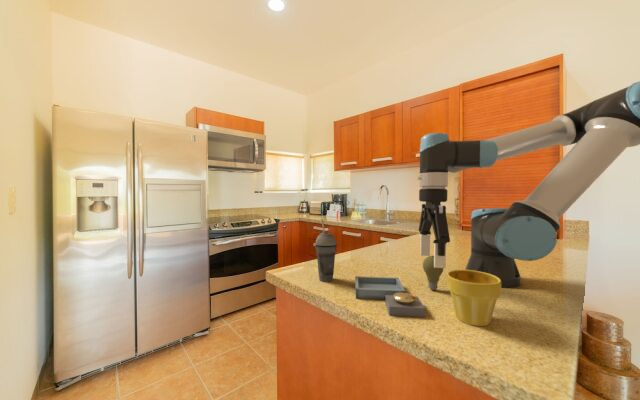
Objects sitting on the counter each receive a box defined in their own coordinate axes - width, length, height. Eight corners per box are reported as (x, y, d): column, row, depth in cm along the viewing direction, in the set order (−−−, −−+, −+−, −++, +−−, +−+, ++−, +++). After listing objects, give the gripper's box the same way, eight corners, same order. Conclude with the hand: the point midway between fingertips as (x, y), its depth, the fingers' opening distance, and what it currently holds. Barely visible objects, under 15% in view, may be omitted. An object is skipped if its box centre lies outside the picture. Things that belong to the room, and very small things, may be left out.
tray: (398, 285, 78) (398, 277, 78) (405, 300, 67) (405, 291, 67) (355, 284, 80) (355, 276, 80) (355, 298, 69) (355, 289, 69)
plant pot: (479, 336, 50) (479, 286, 50) (436, 314, 60) (436, 272, 60) (512, 325, 54) (512, 279, 54) (466, 306, 64) (467, 267, 64)
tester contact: (412, 295, 64) (412, 292, 64) (417, 303, 59) (417, 301, 59) (391, 294, 65) (391, 292, 65) (395, 302, 60) (395, 300, 60)
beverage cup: (335, 283, 80) (335, 220, 80) (312, 282, 82) (312, 220, 81) (338, 276, 87) (338, 218, 87) (317, 275, 89) (317, 218, 88)
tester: (417, 304, 65) (417, 293, 65) (425, 317, 58) (425, 305, 58) (385, 302, 66) (385, 292, 66) (389, 315, 59) (389, 303, 59)
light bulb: (447, 293, 72) (447, 258, 72) (427, 293, 72) (427, 258, 72) (438, 286, 77) (438, 253, 77) (419, 286, 78) (419, 253, 77)
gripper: (409, 189, 87) (408, 251, 87) (433, 186, 62) (431, 273, 63) (433, 189, 86) (431, 251, 87) (466, 186, 61) (464, 274, 62)
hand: (431, 261), depth 75 cm, fingers open, 13 cm apart
